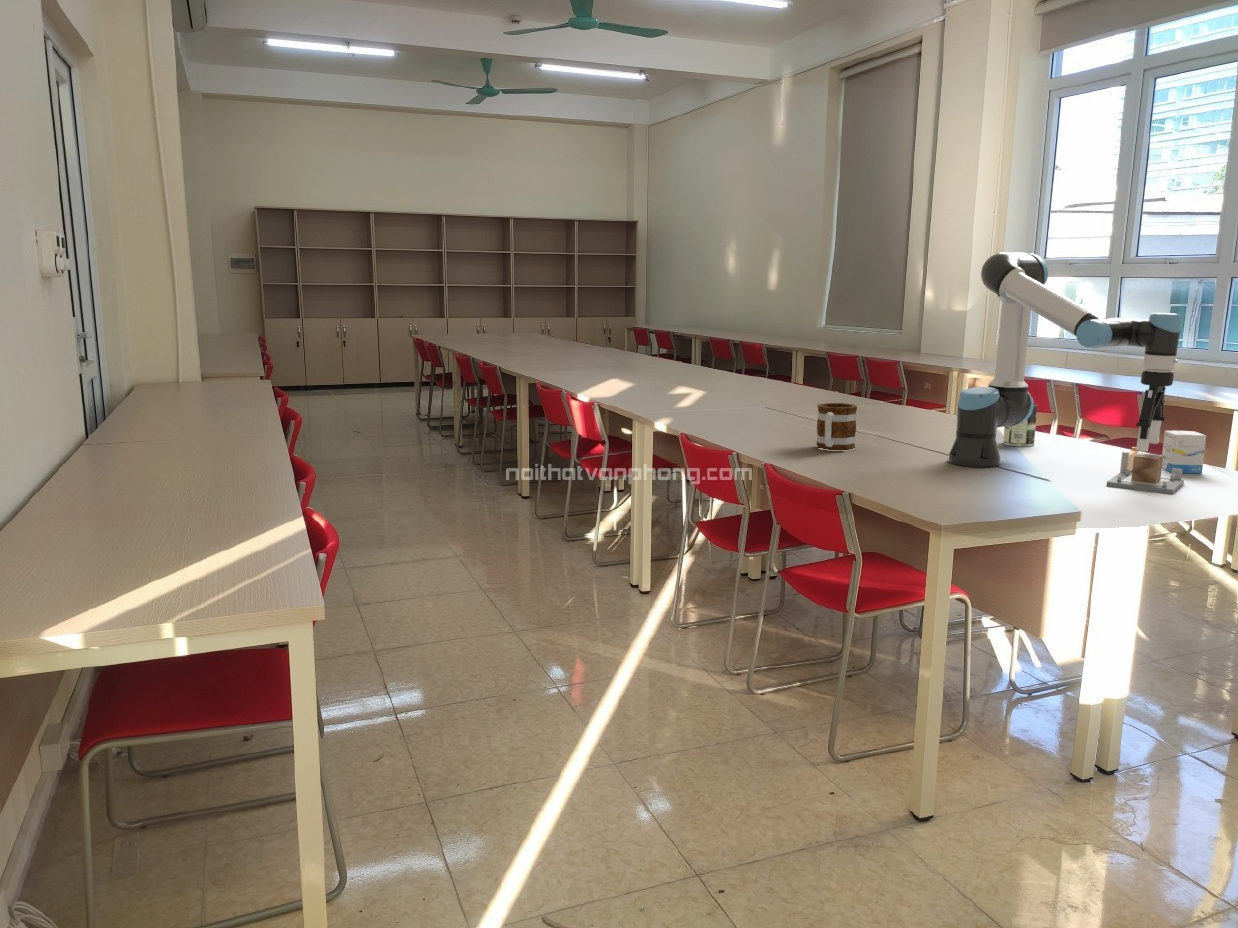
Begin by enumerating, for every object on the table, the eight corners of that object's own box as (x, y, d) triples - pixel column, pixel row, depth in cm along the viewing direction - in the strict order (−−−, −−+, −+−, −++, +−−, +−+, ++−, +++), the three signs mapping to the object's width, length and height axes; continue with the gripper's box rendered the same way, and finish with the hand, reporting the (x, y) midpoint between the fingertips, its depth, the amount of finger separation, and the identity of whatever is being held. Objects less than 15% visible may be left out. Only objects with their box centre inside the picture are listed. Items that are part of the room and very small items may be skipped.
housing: (1104, 485, 249) (1107, 461, 248) (1120, 474, 263) (1122, 451, 261) (1172, 494, 238) (1175, 468, 237) (1185, 482, 252) (1188, 458, 251)
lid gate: (1127, 474, 262) (1130, 453, 261) (1120, 473, 263) (1123, 452, 262) (1137, 467, 271) (1139, 447, 270) (1130, 467, 272) (1132, 446, 271)
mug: (820, 444, 317) (822, 402, 314) (859, 446, 311) (861, 404, 308) (806, 453, 300) (808, 409, 297) (847, 456, 294) (849, 411, 291)
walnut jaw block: (1131, 480, 249) (1133, 455, 248) (1135, 477, 254) (1138, 452, 252) (1155, 483, 245) (1158, 458, 244) (1160, 480, 250) (1163, 455, 248)
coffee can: (1026, 441, 319) (1029, 402, 317) (1039, 446, 309) (1043, 406, 307) (997, 441, 320) (1000, 402, 317) (1009, 446, 309) (1012, 406, 307)
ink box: (1202, 474, 264) (1207, 435, 261) (1170, 473, 265) (1175, 434, 263) (1190, 468, 272) (1195, 430, 270) (1159, 467, 274) (1164, 429, 271)
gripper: (1165, 375, 232) (1153, 455, 236) (1182, 367, 250) (1171, 442, 255) (1132, 373, 236) (1121, 451, 241) (1152, 365, 255) (1141, 438, 260)
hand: (1147, 446), depth 248 cm, fingers open, 13 cm apart
